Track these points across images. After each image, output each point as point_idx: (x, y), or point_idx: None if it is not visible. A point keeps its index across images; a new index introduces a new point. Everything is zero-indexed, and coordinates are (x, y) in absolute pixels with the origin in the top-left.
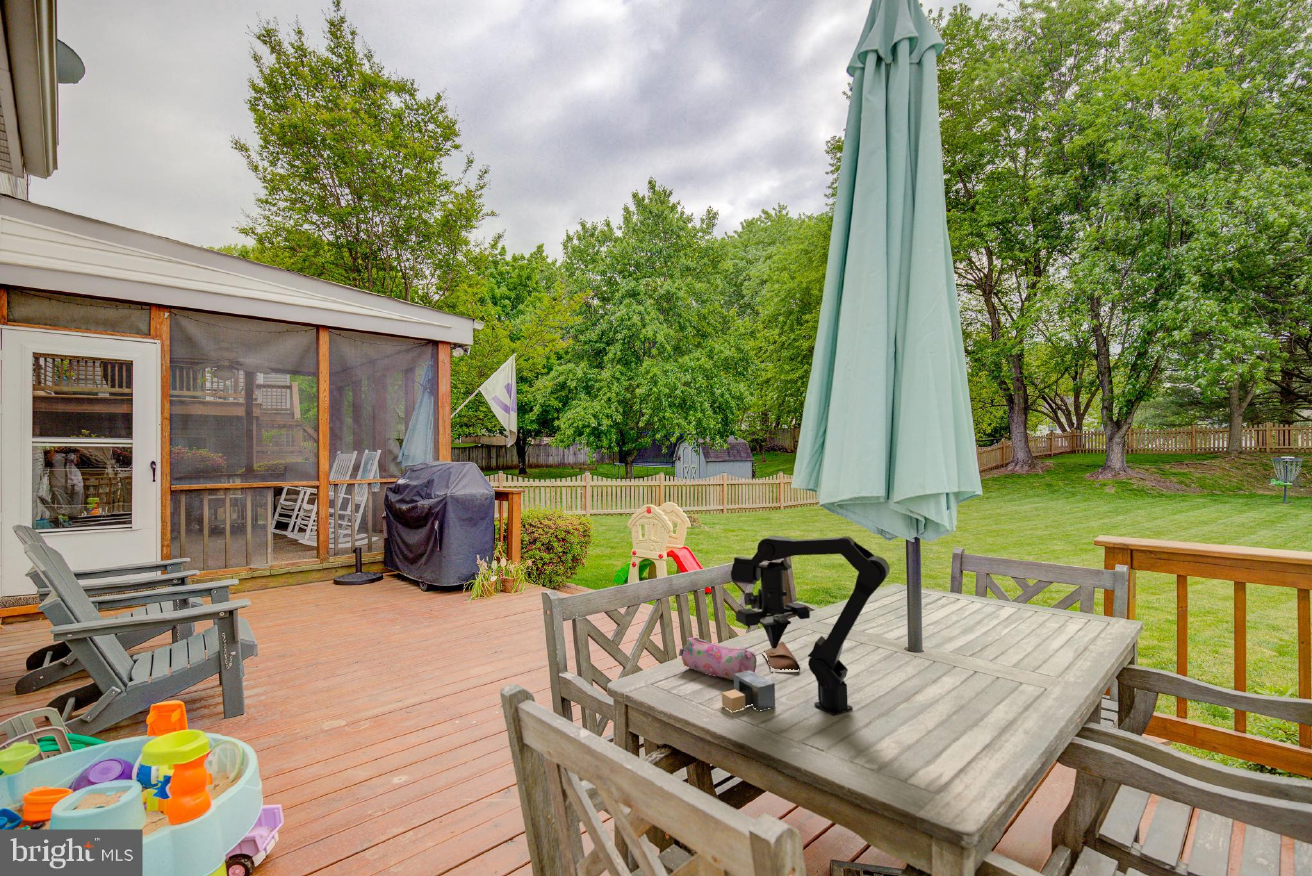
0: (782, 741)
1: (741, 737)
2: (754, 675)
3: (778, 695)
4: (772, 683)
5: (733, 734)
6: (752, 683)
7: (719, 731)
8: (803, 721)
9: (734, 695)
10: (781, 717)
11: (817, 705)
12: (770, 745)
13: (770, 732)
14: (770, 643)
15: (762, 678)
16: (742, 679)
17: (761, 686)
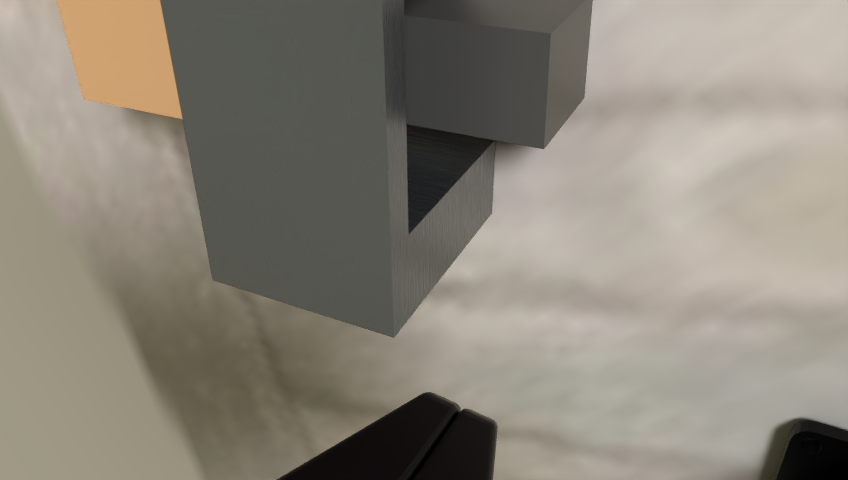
0: (270, 442)
1: (120, 289)
2: (328, 52)
3: (734, 61)
4: (371, 327)
5: (95, 245)
6: (206, 191)
7: (42, 175)
8: (508, 443)
9: (118, 71)
10: (426, 324)
11: (782, 460)
12: (207, 417)
13: (265, 364)
14: (356, 447)
15: (361, 179)
16: (172, 27)
17: (248, 289)
